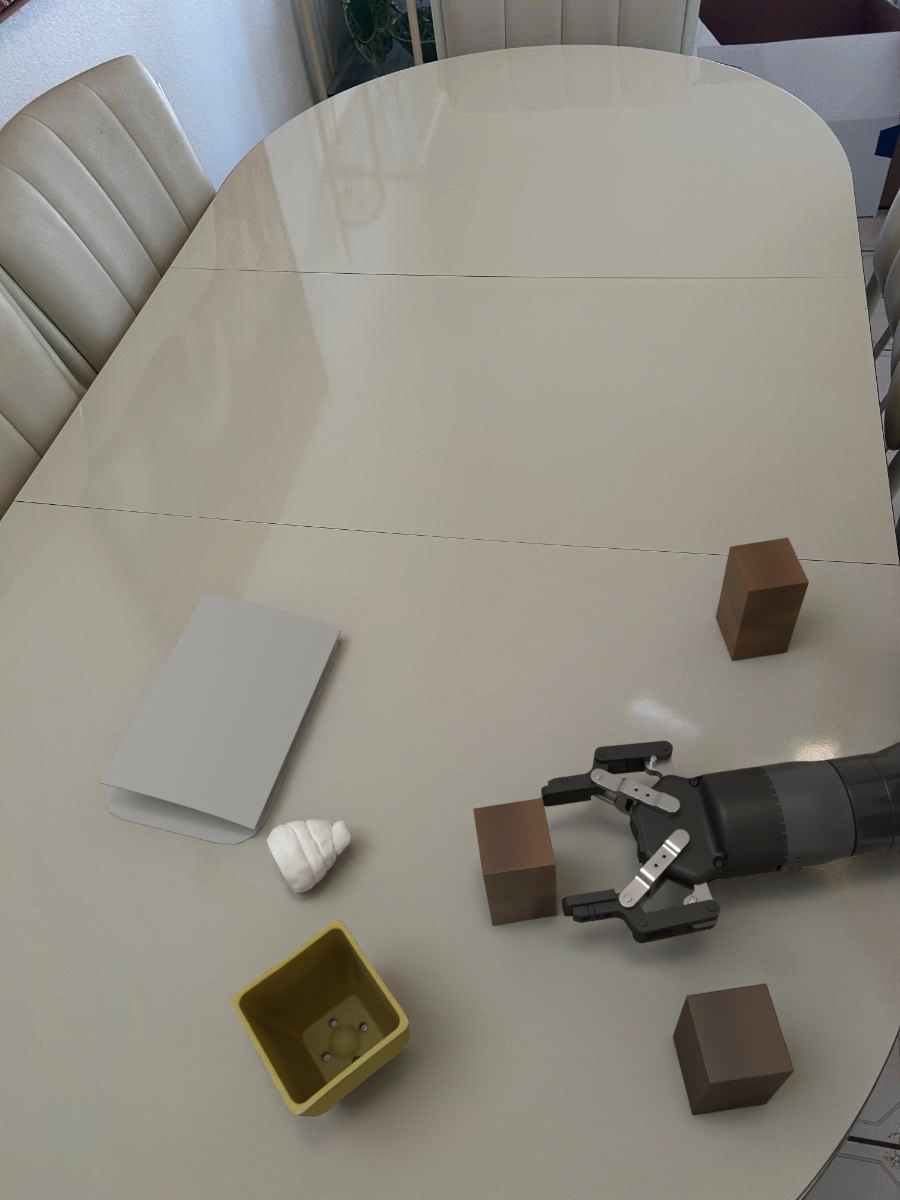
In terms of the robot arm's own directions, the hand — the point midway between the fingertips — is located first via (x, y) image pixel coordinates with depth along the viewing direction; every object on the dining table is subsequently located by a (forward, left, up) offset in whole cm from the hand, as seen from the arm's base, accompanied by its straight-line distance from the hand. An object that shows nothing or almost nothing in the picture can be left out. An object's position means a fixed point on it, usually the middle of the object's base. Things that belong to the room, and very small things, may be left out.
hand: (552, 850), depth 68 cm
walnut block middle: (+3, 0, -6) cm, 7 cm away
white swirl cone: (+19, -3, -6) cm, 20 cm away
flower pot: (+16, +11, -6) cm, 20 cm away
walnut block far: (-19, -23, -6) cm, 30 cm away
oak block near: (-10, +13, -6) cm, 18 cm away
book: (+29, -17, -6) cm, 34 cm away
